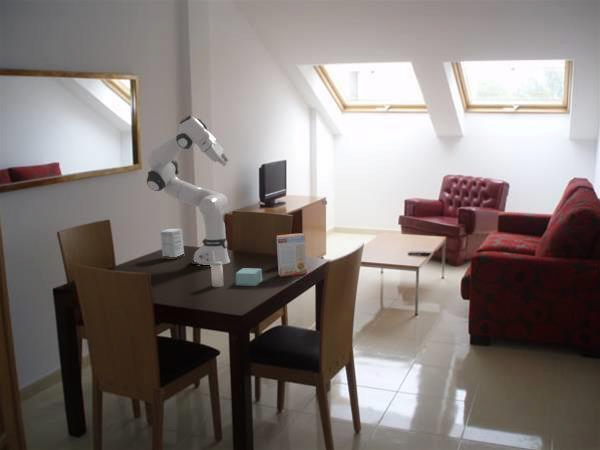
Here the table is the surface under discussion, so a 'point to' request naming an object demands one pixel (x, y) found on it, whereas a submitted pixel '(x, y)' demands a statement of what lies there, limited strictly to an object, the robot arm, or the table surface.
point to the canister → (217, 273)
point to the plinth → (249, 277)
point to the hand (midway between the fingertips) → (226, 163)
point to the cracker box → (291, 254)
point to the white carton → (172, 242)
